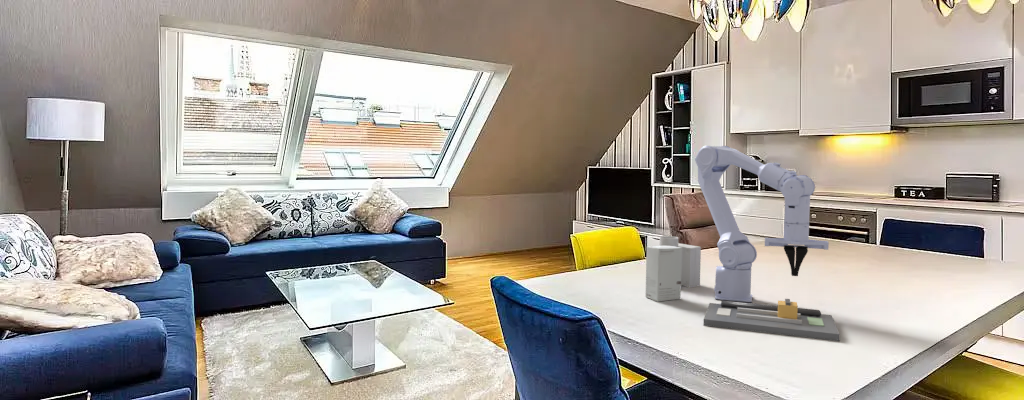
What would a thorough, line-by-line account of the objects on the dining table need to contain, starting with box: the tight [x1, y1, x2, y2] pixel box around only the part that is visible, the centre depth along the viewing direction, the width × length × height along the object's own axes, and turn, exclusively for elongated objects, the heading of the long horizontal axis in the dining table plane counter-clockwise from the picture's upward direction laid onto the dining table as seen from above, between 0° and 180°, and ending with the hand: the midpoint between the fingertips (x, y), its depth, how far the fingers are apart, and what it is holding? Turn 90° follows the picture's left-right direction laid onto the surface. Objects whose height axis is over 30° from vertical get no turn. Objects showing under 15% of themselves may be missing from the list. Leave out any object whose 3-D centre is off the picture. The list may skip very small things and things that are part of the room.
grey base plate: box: [703, 300, 841, 342], centre depth 134 cm, size 28×16×3 cm, turn 66°
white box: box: [659, 235, 702, 288], centre depth 174 cm, size 12×14×15 cm
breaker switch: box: [777, 298, 799, 319], centre depth 132 cm, size 4×4×4 cm
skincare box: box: [644, 245, 682, 302], centre depth 157 cm, size 8×6×15 cm
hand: (794, 275), depth 143 cm, fingers closed
